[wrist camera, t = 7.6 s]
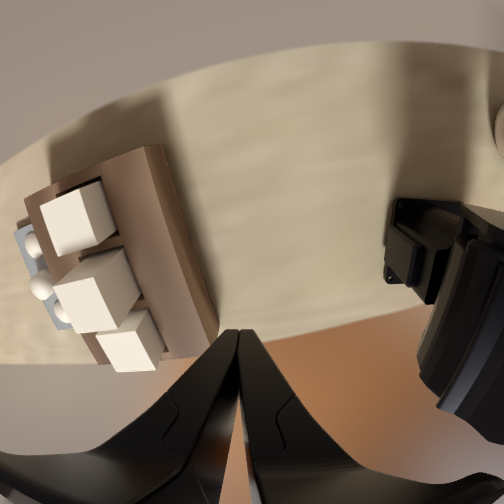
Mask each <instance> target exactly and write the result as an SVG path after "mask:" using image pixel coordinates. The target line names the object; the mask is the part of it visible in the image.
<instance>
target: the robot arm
mask: <svg viewBox="0 0 504 504" xmlns="http://www.w3.org/2000/svg"><path fill="white" fill-rule="evenodd" d="M401 201H402V203H403V204H402V206H401V207H399V203H400V202H401ZM459 207H460V210H459ZM384 261H385V262H386V264H385V271H384V280H385V281H386V283H388V284H405V285H406V286H407V287H408V288H409V287H411V288H412V289H413V290H414V291H415V292H416V294H417V295H418V296H419V297H420V298H421V300H422V301H423V302H424V303H425V304H426V305H430V304H433V305H434V307H433V310H432V313H431V316H430V318H429V321H428V323H427V326H426V329H425V330H424V332H423V335H422V339H421V341H420V343H419V346H418V351H417V360H418V364H419V367H420V373H419V376H420V378H421V379H422V381H423V382H424V384H425V385H426V387H427V388H428V389H429V390H430V391H431V392H432V393H434V394H435V395H436V396H437V397H439V398H440V399H439V401H438V403H437V404H436V407H437V408H438V409H441V410H443V411H446V412H449V413H452V414H455V415H456V416H458V417H460V418H461V419H463V420H465V421H466V422H468V423H469V424H470V425H471V426H472V427H474V428H475V429H476V430H477V431H478V432H479V433H480V434H481V435H482V436H483V437H484V438H485V439H486V440H487V441H489V442H492V443H496V444H500V445H504V212H500V211H496V210H492V209H487V208H483V207H478V206H474V205H469V204H464V203H463V202H460V201H453V200H441V199H429V198H415V197H397V198H395V200H394V202H393V211H392V220H391V225H390V227H389V228H388V234H387V242H386V249H385V256H384ZM390 275H392V278H390V279H388V278H389V276H390ZM239 398H240V409H241V418H242V427H243V436H244V444H245V451H246V461H247V468H248V476H249V484H250V492H251V499H252V504H492V503H494V502H495V501H496V500H497V499H499V498H500V497H501V496H502V495H503V494H504V480H502V479H501V478H499V477H497V476H494V475H490V474H486V473H483V472H478V473H475V474H472V475H469V476H467V477H464V478H462V479H460V480H457V481H454V482H451V483H445V484H427V483H421V482H417V481H412V480H408V479H404V478H400V477H396V476H392V475H389V474H385V473H381V472H378V471H374V470H371V469H369V468H366V467H364V466H363V465H361V464H359V463H358V462H356V461H355V460H354V459H353V458H352V457H351V456H350V455H348V454H347V453H346V452H345V451H344V450H343V449H342V448H341V447H340V446H339V445H338V444H337V443H336V442H335V441H334V440H333V438H331V436H330V435H329V434H328V433H327V432H326V431H325V430H324V429H323V428H322V427H321V426H320V425H319V424H318V423H317V422H316V420H315V419H314V418H313V417H312V416H311V415H310V413H309V412H308V411H307V409H306V408H305V407H304V405H303V404H302V402H301V401H300V399H299V398H298V397H297V396H296V394H295V392H294V391H293V389H292V388H291V386H290V385H289V383H288V382H287V380H286V379H285V377H284V376H283V374H282V373H281V372H280V370H279V368H278V367H277V365H276V364H275V362H274V361H273V359H272V358H271V356H270V354H269V353H268V351H267V350H266V348H265V347H264V345H263V344H262V342H261V341H260V339H259V337H258V336H257V334H256V333H255V331H254V330H253V329H241V330H240V331H239V330H238V329H226V330H225V331H224V332H223V333H222V334H221V335H220V336H219V337H218V338H217V339H216V340H215V341H214V342H213V343H212V344H211V346H210V347H209V348H208V349H207V350H206V351H205V352H204V353H203V354H202V355H201V356H200V357H199V358H198V359H197V360H196V361H195V362H194V363H193V365H191V366H190V368H189V369H188V370H187V371H186V372H185V373H184V374H183V375H182V376H181V377H180V378H179V379H178V380H177V381H176V382H175V383H174V384H173V385H172V386H171V387H170V388H169V389H168V390H167V392H165V393H164V394H163V395H162V396H161V397H160V398H159V399H158V400H157V401H156V402H155V403H154V404H153V405H152V406H151V407H150V408H148V409H147V410H146V411H145V412H144V413H143V414H142V415H140V416H139V417H138V418H136V420H134V421H133V422H131V423H130V424H129V425H127V426H126V427H125V428H123V429H122V430H121V431H119V432H118V433H117V434H115V435H114V436H113V437H111V438H110V439H109V440H107V441H106V442H104V443H103V444H101V445H100V446H98V447H96V448H94V449H92V450H89V451H86V452H80V453H70V454H56V455H55V454H54V455H13V454H8V453H4V452H2V451H0V494H1V495H3V496H4V497H5V499H4V501H3V504H219V499H220V494H221V489H222V484H223V479H224V474H225V469H226V464H227V458H228V453H229V448H230V442H231V438H232V432H233V427H234V422H235V416H236V411H237V405H238V399H239Z"/></svg>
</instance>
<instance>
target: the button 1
mask: <svg viewBox="0 0 504 504" xmlns="http://www.w3.org/2000/svg"><path fill="white" fill-rule="evenodd" d="M40 209H41V212H42V215H43V218H44V221H45V223H46V226H47V229H48V232H49V235H50V237H51V240H52V243H53V245H54V248H55V251H56V253H57V256H58V257H59V256H62V255H66V254H69V253H72V252H76V251H79V250H82V249H86V248H89V247H92V246H96V245H98V244H100V243H101V242H102V241H104V240H105V239H106V238H107V237H109V236H110V235H111V234H113V233H114V232H115V231H117V230H118V228H117V225H116V222H115V219H114V216H113V213H112V210H111V207H110V204H109V201H108V198H107V195H106V191H105V188H104V185H103V181H102V180H101V181H98V182H95V183H93V184H90V185H87V186H85V187H82V188H79V189H77V190H75V191H72V192H70V193H68V194H65V195H63V196H61V197H58V198H56V199H54V200H52V201H50V202H47V203H45V204H43V205H41V206H40Z"/></svg>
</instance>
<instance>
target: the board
mask: <svg viewBox="0 0 504 504" xmlns="http://www.w3.org/2000/svg"><path fill="white" fill-rule="evenodd" d="M101 180H102V181H103V185H104V188H105V191H106V195H107V198H108V201H109V204H110V207H111V210H112V213H113V216H114V219H115V222H116V225H117V228H118V230H117V231H115V232H114V233H113V234H111V235H110V236H109V237H107V238H106V239H105V240H104V241H102V242H101V243H100V244H98V245H96V246H92V247H89V248H86V249H82V250H79V251H76V252H72V253H69V254H66V255H62V256H59V257H58V256H57V253H56V251H55V248H54V245H53V243H52V240H51V237H50V235H49V232H48V229H47V226H46V223H45V221H44V218H43V215H42V212H41V209H40V206H41V205H43V204H45V203H47V202H50V201H52V200H54V199H56V198H58V197H61V196H63V195H65V194H68V193H70V192H72V191H75V190H77V189H79V188H82V187H85V186H87V185H90V184H93V183H95V182H98V181H101ZM24 202H25V205H26V208H27V212H28V215H29V218H30V221H31V224H32V226H33V229H34V232H35V235H36V238H37V240H38V243H39V246H40V248H41V251H42V253H43V256H44V258H45V261H46V263H47V266H48V268H49V270H50V273H51V275H52V277H53V279H54V282H55V284H56V283H57V282H58V281H60V280H61V279H62V278H63V277H64V276H65V275H66V274H68V273H69V272H70V271H71V270H72V269H73V268H75V267H76V266H77V265H78V264H79V263H81V262H82V261H83V260H84V259H85V258H87V257H88V256H89V255H90V254H92V253H95V252H99V251H103V250H106V249H110V248H114V247H117V246H121V245H124V247H125V250H126V253H127V255H128V258H129V261H130V263H131V266H132V268H133V271H134V273H135V276H136V278H137V281H138V283H139V286H140V288H141V291H142V293H141V295H140V296H139V298H138V299H137V301H136V302H135V304H134V305H133V307H132V308H131V310H135V309H141V308H147V307H149V309H150V311H151V314H152V316H153V318H154V320H155V323H156V325H157V327H158V329H159V331H160V333H161V336H162V338H163V340H164V342H165V344H166V346H165V348H164V351H163V353H162V356H161V358H160V361H161V360H172V359H181V358H189V357H198V356H201V355H202V354H203V353H204V352H205V351H206V350H207V349H208V348H209V347H210V346H211V344H212V343H213V342H214V341H215V340H216V339H217V336H218V331H219V326H220V325H219V323H218V320H217V317H216V314H215V311H214V309H213V306H212V303H211V300H210V297H209V294H208V291H207V288H206V285H205V282H204V279H203V276H202V273H201V270H200V267H199V264H198V261H197V258H196V255H195V252H194V249H193V246H192V243H191V239H190V236H189V233H188V230H187V227H186V223H185V220H184V217H183V214H182V210H181V207H180V204H179V200H178V197H177V193H176V190H175V187H174V183H173V180H172V176H171V173H170V169H169V165H168V162H167V158H166V155H165V151H164V147H163V144H157V145H150V146H143V147H140V148H137V149H135V150H132V151H129V152H127V153H124V154H121V155H119V156H116V157H114V158H111V159H109V160H106V161H104V162H101V163H99V164H96V165H94V166H92V167H89V168H87V169H85V170H82V171H80V172H78V173H76V174H73V175H71V176H69V177H67V178H65V179H62V180H60V181H58V182H56V183H54V184H52V185H50V186H48V187H46V188H44V189H42V190H40V191H38V192H36V193H34V194H32V195H30V196H28V197H26V198H25V199H24ZM97 333H98V332H89V333H80V334H81V335H82V337H83V339H84V341H85V342H86V344H87V346H88V348H89V349H90V351H91V353H92V354H93V356H94V358H95V359H96V361H97V363H98V364H99V365H105V364H111V362H110V360H109V359H108V357H107V355H106V354H105V352H104V350H103V348H102V347H101V345H100V343H99V341H98V340H97V338H96V334H97Z"/></svg>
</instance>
